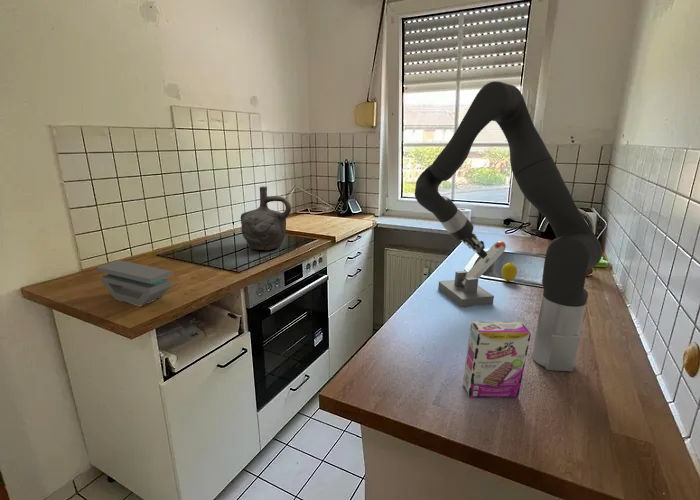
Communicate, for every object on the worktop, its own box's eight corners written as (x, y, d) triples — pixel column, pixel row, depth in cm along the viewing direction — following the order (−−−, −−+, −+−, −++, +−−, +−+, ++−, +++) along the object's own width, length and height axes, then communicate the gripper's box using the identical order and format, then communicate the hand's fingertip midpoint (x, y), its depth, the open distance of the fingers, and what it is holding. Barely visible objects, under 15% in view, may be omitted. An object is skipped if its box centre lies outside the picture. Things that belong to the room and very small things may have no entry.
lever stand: (492, 304, 126) (495, 282, 124) (461, 307, 123) (464, 285, 121) (466, 286, 141) (469, 266, 139) (438, 288, 138) (440, 268, 136)
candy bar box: (469, 399, 81) (478, 332, 76) (462, 384, 85) (469, 320, 80) (520, 399, 81) (532, 332, 76) (510, 384, 86) (520, 320, 81)
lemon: (516, 285, 143) (519, 265, 141) (501, 283, 144) (504, 264, 142) (513, 279, 148) (516, 260, 146) (499, 278, 149) (501, 259, 147)
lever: (469, 290, 130) (510, 247, 129) (463, 284, 128) (504, 240, 127) (463, 286, 133) (502, 244, 133) (457, 280, 132) (497, 237, 131)
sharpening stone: (103, 296, 128) (97, 266, 124) (124, 288, 134) (119, 260, 131) (155, 311, 118) (150, 279, 115) (175, 301, 125) (171, 271, 122)
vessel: (292, 241, 196) (290, 183, 187) (292, 253, 176) (290, 190, 167) (245, 242, 193) (241, 183, 184) (239, 255, 172) (234, 190, 163)
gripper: (475, 219, 117) (504, 254, 123) (453, 211, 129) (480, 243, 135) (458, 236, 117) (488, 270, 124) (438, 227, 129) (466, 258, 136)
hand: (484, 256), depth 129 cm, fingers closed
